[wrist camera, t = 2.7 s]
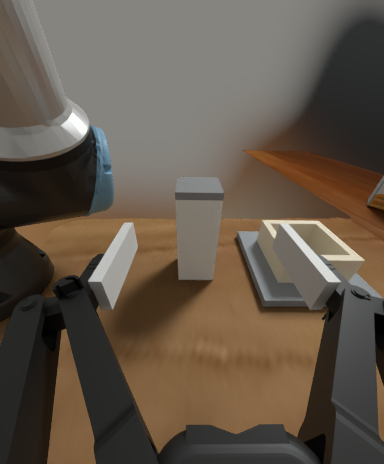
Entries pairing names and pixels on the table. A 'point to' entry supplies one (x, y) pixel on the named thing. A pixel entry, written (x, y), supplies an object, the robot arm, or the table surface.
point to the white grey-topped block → (197, 226)
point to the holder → (274, 274)
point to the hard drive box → (377, 196)
